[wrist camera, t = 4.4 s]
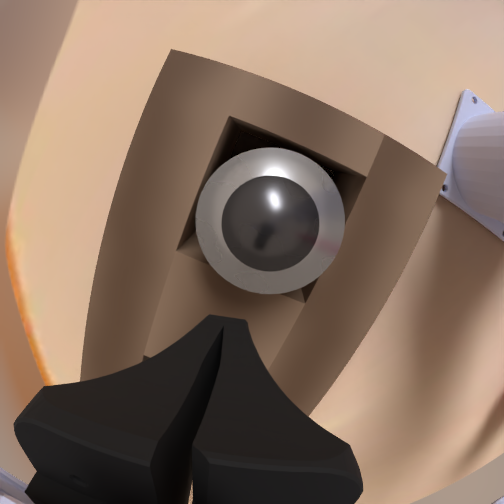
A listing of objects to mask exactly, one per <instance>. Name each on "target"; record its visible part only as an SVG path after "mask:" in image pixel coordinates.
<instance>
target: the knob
mask: <svg viewBox="0 0 504 504" xmlns="http://www.w3.org/2000/svg"><path fill="white" fill-rule="evenodd" d="M344 228H345V214H344V207H343V203H342V199H341V196H340V194H339V192H338V189H337V187H336V186H335V184H334V182H333V181H332V179H331V178H330V177H329V175H328V174H327V173H326V172H325V171H324V170H323V169H322V168H321V167H320V166H319V165H318V164H316V163H315V162H314V161H312V160H311V159H309V158H307V157H306V156H304V155H302V154H299V153H297V152H294V151H291V150H286V149H282V148H259V149H254V150H250V151H247V152H244V153H241V154H239V155H237V156H235V157H233V158H231V159H230V160H228V161H227V162H225V163H224V164H223V165H221V166H220V167H219V168H218V169H217V170H216V171H215V172H214V173H213V175H212V176H211V177H210V178H209V180H208V181H207V183H206V184H205V186H204V188H203V190H202V192H201V195H200V198H199V201H198V204H197V210H196V233H197V237H198V241H199V244H200V247H201V249H202V252H203V254H204V255H205V257H206V259H207V261H208V262H209V263H210V265H211V266H212V267H213V268H214V270H215V271H216V272H217V273H218V274H219V275H221V276H222V277H223V278H224V279H225V280H227V281H228V282H230V283H232V284H233V285H235V286H237V287H239V288H241V289H244V290H247V291H250V292H255V293H260V294H280V293H286V292H290V291H293V290H297V289H299V288H301V287H304V286H306V285H307V284H309V283H311V282H312V281H314V280H315V279H316V278H318V277H319V276H320V275H321V274H322V273H323V272H324V271H325V270H326V269H327V268H328V267H329V265H330V264H331V263H332V261H333V260H334V258H335V256H336V255H337V253H338V250H339V248H340V246H341V243H342V239H343V235H344Z"/></svg>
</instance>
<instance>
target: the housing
mask: <svg viewBox="0 0 504 504" xmlns="http://www.w3.org/2000/svg"><path fill="white" fill-rule="evenodd" d="M241 131H243V132H246V133H248V134H251V135H253V136H256V137H258V138H261V139H263V140H265V141H268V142H270V143H273V144H275V145H277V146H280V147H282V148H284V149H287V150H291V151H294V152H297V153H299V154H302V155H304V156H306V157H307V158H309V159H311V160H312V161H314V162H316V163H318V164H320V165H322V166H324V167H326V168H328V169H330V170H332V171H334V172H335V174H334V177H333V179H332V181H333V182H334V184H335V186H336V187H337V189H338V192H339V194H340V196H341V199H342V203H343V207H344V214H345V228H344V235H343V239H342V243H341V246H340V248H339V250H338V253H337V255H336V256H335V258H334V260H333V261H332V263H331V264H330V265H329V267H328V268H327V269H326V270H325V271H324V272H323V273H322V274H321V275H320V276H319V277H318V278H316V279H315V280H314V281H312V282H311V283H309V284H307V285H306V286H304V287H301V288H299V289H297V290H293V291H290V292H286V293H280V294H260V293H255V292H250V291H247V290H244V289H241V288H239V287H237V286H235V285H233V284H232V283H230V282H228V281H227V280H225V279H224V278H223V277H222V276H221V275H219V274H218V273H217V272H216V271H215V270H214V268H213V267H212V266H211V265H210V263H209V262H208V261H207V259H206V257H205V255H204V254H203V252H202V249H201V247H200V244H199V241H198V237H197V233H196V210H197V204H198V201H199V198H200V195H201V192H202V190H203V188H204V186H205V184H206V183H207V181H208V180H209V178H210V177H211V176H212V175H213V173H214V172H215V171H216V170H217V169H218V168H219V167H220V166H221V165H223V164H224V163H225V162H227V161H228V160H229V158H230V156H231V154H232V151H233V149H234V146H235V144H236V142H237V139H238V137H239V135H240V132H241ZM446 176H447V173H445V172H444V171H442V170H441V169H439V168H438V167H436V166H435V165H433V164H432V163H430V162H429V161H427V160H426V159H424V158H423V157H421V156H420V155H418V154H417V153H415V152H413V151H412V150H410V149H409V148H407V147H405V146H404V145H402V144H400V143H399V142H397V141H395V140H394V139H392V138H390V137H389V136H387V135H385V134H383V133H382V132H380V131H378V130H376V129H375V128H373V127H371V126H369V125H367V124H365V123H364V122H362V121H360V120H358V119H356V118H354V117H352V116H350V115H348V114H346V113H344V112H342V111H340V110H338V109H336V108H334V107H332V106H330V105H328V104H326V103H323V102H321V101H319V100H317V99H315V98H313V97H310V96H308V95H306V94H303V93H301V92H299V91H296V90H294V89H292V88H289V87H287V86H284V85H282V84H279V83H277V82H274V81H272V80H269V79H267V78H264V77H261V76H258V75H256V74H253V73H250V72H247V71H244V70H241V69H239V68H236V67H233V66H229V65H226V64H223V63H220V62H217V61H213V60H210V59H207V58H203V57H200V56H196V55H192V54H189V53H185V52H181V51H177V50H173V49H171V51H170V53H169V55H168V57H167V59H166V61H165V63H164V65H163V67H162V69H161V72H160V74H159V76H158V78H157V80H156V83H155V85H154V87H153V89H152V92H151V94H150V96H149V99H148V101H147V103H146V106H145V108H144V111H143V113H142V116H141V118H140V121H139V123H138V126H137V129H136V131H135V134H134V137H133V139H132V142H131V145H130V148H129V150H128V153H127V156H126V159H125V162H124V165H123V168H122V171H121V174H120V177H119V181H118V184H117V187H116V190H115V194H114V197H113V201H112V204H111V208H110V211H109V215H108V219H107V223H106V227H105V231H104V235H103V239H102V243H101V247H100V252H99V256H98V261H97V265H96V270H95V275H94V280H93V286H92V291H91V297H90V303H89V309H88V315H87V322H86V329H85V337H84V345H83V355H82V365H81V377H80V382H81V381H86V380H91V379H95V378H99V377H102V376H106V375H109V374H113V373H115V372H118V371H121V370H123V369H126V368H129V367H131V366H134V365H136V364H139V363H141V362H143V361H145V360H147V359H149V358H151V357H153V356H155V355H156V354H158V353H160V352H161V351H163V350H164V349H166V348H167V347H169V346H170V345H172V344H173V343H175V342H176V341H177V340H179V339H180V338H181V337H183V336H184V335H185V334H186V333H188V332H189V331H190V330H191V329H193V328H194V327H195V326H196V325H197V324H198V323H200V322H201V321H202V320H203V319H204V318H205V317H206V316H208V315H209V314H211V315H218V316H224V317H231V318H238V319H245V320H246V321H247V322H248V327H249V331H250V334H251V337H252V340H253V343H254V345H255V347H256V349H257V352H258V354H259V356H260V358H261V360H262V362H263V363H264V365H265V367H266V368H267V370H268V372H269V373H270V375H271V376H272V378H273V379H274V381H275V382H276V383H277V385H278V386H279V387H280V389H281V390H282V391H283V392H284V393H285V394H286V396H287V397H288V398H289V399H290V400H291V401H292V402H293V403H294V404H295V405H296V406H297V407H298V408H299V409H300V410H301V411H302V412H303V413H304V414H306V415H307V416H309V415H310V414H311V412H312V411H313V410H314V408H315V407H316V406H317V405H318V403H319V402H320V401H321V399H322V398H323V397H324V395H325V394H326V393H327V391H328V390H329V389H330V387H331V386H332V384H333V383H334V382H335V380H336V379H337V377H338V376H339V375H340V373H341V372H342V370H343V369H344V367H345V366H346V364H347V363H348V362H349V360H350V359H351V357H352V356H353V354H354V353H355V351H356V350H357V348H358V347H359V345H360V343H361V342H362V340H363V339H364V337H365V336H366V334H367V332H368V331H369V329H370V328H371V326H372V324H373V323H374V321H375V319H376V318H377V316H378V315H379V313H380V311H381V309H382V308H383V306H384V304H385V303H386V301H387V299H388V297H389V296H390V294H391V292H392V290H393V288H394V287H395V285H396V283H397V281H398V279H399V278H400V276H401V274H402V272H403V270H404V268H405V266H406V264H407V262H408V260H409V258H410V256H411V255H412V253H413V251H414V249H415V246H416V244H417V242H418V240H419V238H420V236H421V234H422V232H423V230H424V228H425V225H426V223H427V221H428V219H429V217H430V214H431V212H432V210H433V208H434V205H435V203H436V201H437V198H438V196H439V193H440V191H441V189H442V186H443V184H444V181H445V179H446Z"/></svg>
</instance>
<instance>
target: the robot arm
mask: <svg viewBox="0 0 504 504" xmlns="http://www.w3.org/2000/svg"><path fill="white" fill-rule="evenodd" d="M472 98H473V99H474V103H473V101H472ZM437 167H438V168H439V169H441V170H442V171H444V172H445V173H447V176H446V179H445V181H444V184H443V185H445V190H444V191H442V189H441V191H440V193H439V194H440V195H441V196H443V197H444V198H445V199H447V200H448V201H450V202H451V203H453V204H454V205H456V206H457V207H459V208H460V209H461V210H463V211H464V212H466V213H467V214H468V215H470V216H471V217H472V218H474V219H475V220H476V221H478V222H479V223H480V224H482V225H483V226H484V227H486V228H487V229H488V230H490V231H491V232H492V233H493V234H495V235H496V236H497V237H498V238H500V239H501V240H502V241H503V242H504V233H503V231H504V111H502V112H495V111H494V110H493V109H491V108H490V107H489V106H488V105H487V104H486V103H485V102H484V101H482V100H481V99H480V98H479V97H478V96H477V95H475V94H474V93H473V92H472V91H470V90H469V89H466V90H464V91H462V94H461V97H460V101H459V104H458V107H457V111H456V114H455V117H454V120H453V123H452V126H451V129H450V132H449V135H448V138H447V141H446V144H445V147H444V149H443V152H442V155H441V157H440V160H439V163H438V165H437ZM502 233H503V235H502ZM14 431H15V435H16V437H17V439H18V442H19V444H20V445H21V447H22V449H23V450H24V452H25V454H26V455H27V457H28V458H29V460H30V462H31V463H32V465H33V466H34V468H35V469H36V471H37V472H36V474H35V475H34V477H33V478H32V480H31V482H30V483H29V485H28V484H26V483H24V482H23V481H21V480H20V479H18V478H16V477H15V476H13V475H12V474H10V473H9V472H7V471H5V470H4V469H2V468H1V467H0V504H188V500H189V495H190V490H191V484H192V480H193V502H192V504H354V503H355V502H356V501H357V500H358V499H359V497H360V495H361V494H362V492H363V481H362V477H361V473H360V469H359V466H358V464H357V461H356V459H355V456H354V454H353V452H352V449H351V447H350V445H349V444H348V443H346V442H344V441H343V440H341V439H339V438H338V437H336V436H335V435H333V434H332V433H330V432H328V431H327V430H325V429H324V428H322V427H321V426H319V425H318V424H317V423H316V422H314V421H313V420H312V419H311V418H309V417H308V416H307V415H306V414H304V413H303V412H302V411H301V410H300V409H299V408H298V407H297V406H296V405H295V404H294V403H293V402H292V401H291V400H290V399H289V398H288V397H287V396H286V394H285V393H284V392H283V391H282V390H281V389H280V387H279V386H278V385H277V383H276V382H275V381H274V379H273V378H272V376H271V375H270V373H269V372H268V370H267V368H266V367H265V365H264V363H263V362H262V360H261V358H260V356H259V354H258V352H257V349H256V347H255V345H254V343H253V340H252V337H251V334H250V331H249V327H248V322H247V321H246V320H245V319H238V318H231V317H224V316H218V315H211V314H209V315H208V316H206V317H205V318H204V319H203V320H202V321H201V322H200V323H198V324H197V325H196V326H195V327H194V328H193V329H191V330H190V331H189V332H188V333H186V334H185V335H184V336H183V337H181V338H180V339H179V340H177V341H176V342H175V343H173V344H172V345H170V346H169V347H167V348H166V349H164V350H163V351H161V352H160V353H158V354H156V355H155V356H153V357H151V358H149V359H147V360H145V361H143V362H141V363H139V364H136V365H134V366H131V367H129V368H126V369H123V370H121V371H118V372H115V373H113V374H109V375H106V376H102V377H99V378H95V379H91V380H86V381H81V382H76V383H69V384H61V385H53V386H44V387H43V388H42V389H41V390H40V391H39V392H38V393H37V394H36V396H35V397H34V398H33V399H32V400H31V401H30V403H29V404H28V405H27V406H26V408H25V409H24V410H23V411H22V413H21V414H20V415H19V416H18V417H17V419H16V420H15V422H14ZM492 504H504V496H502V497H501V498H499V499H497V500H496V501H494V502H493V503H492Z"/></svg>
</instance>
